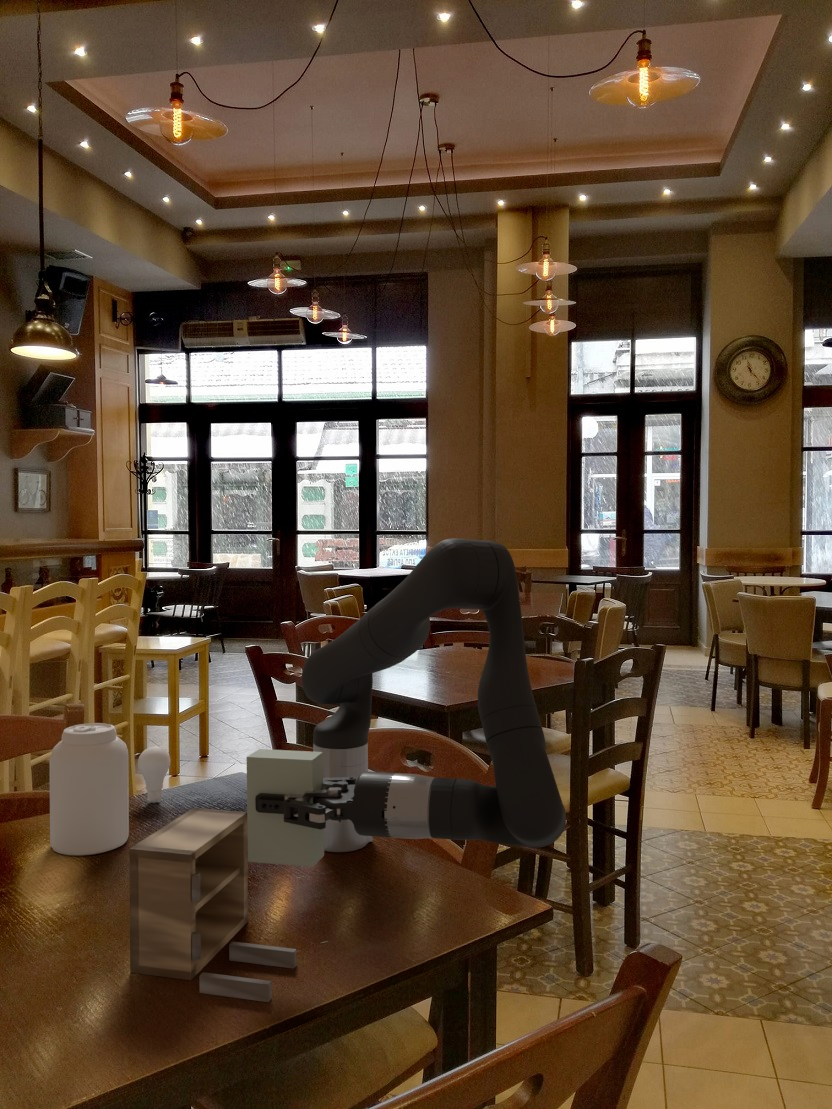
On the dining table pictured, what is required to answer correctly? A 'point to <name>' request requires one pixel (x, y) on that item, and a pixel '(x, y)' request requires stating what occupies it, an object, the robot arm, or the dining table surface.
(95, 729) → the can
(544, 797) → the robot arm
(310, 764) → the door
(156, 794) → the lightbulb
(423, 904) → the dining table surface
